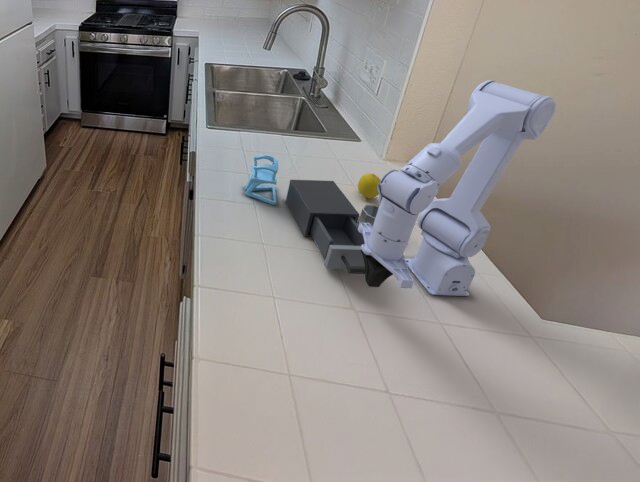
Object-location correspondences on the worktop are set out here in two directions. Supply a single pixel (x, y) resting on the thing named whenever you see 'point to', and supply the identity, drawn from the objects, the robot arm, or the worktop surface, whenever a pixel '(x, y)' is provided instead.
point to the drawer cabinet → (317, 202)
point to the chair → (263, 178)
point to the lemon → (368, 185)
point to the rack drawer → (339, 242)
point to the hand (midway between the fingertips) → (372, 284)
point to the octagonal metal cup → (368, 214)
